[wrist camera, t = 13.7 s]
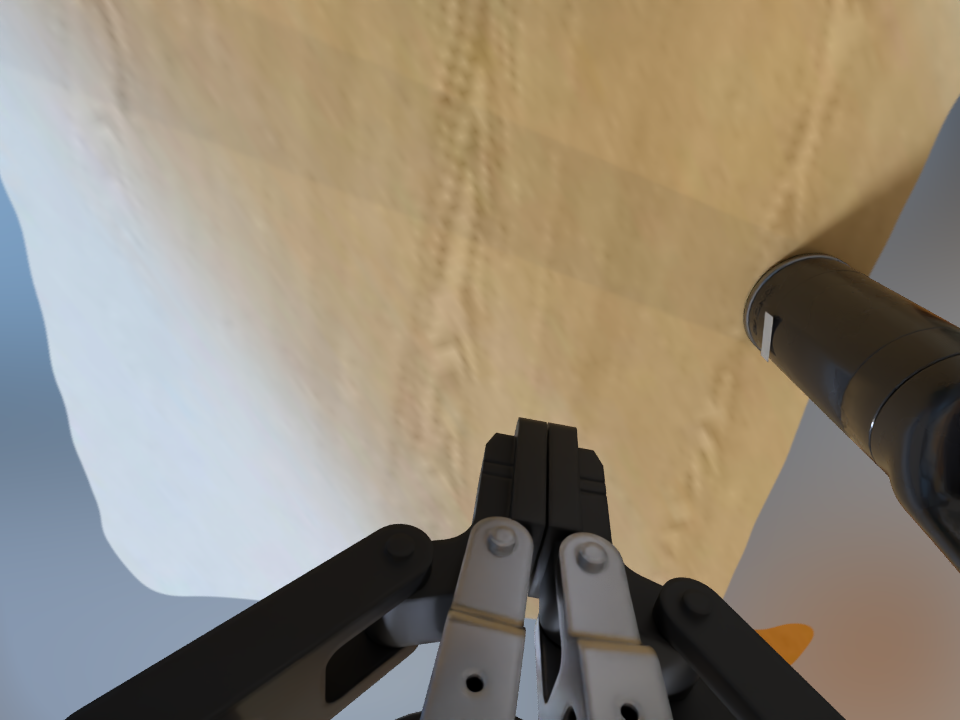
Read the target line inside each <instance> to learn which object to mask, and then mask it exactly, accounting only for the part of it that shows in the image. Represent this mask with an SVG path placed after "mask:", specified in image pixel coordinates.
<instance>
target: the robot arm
mask: <svg viewBox="0 0 960 720" xmlns="http://www.w3.org/2000/svg"><path fill="white" fill-rule="evenodd" d="M744 327H745V331H746V334H747V336H748V338H749V339H750V341H751V342H752V343H753V344H754V345H755V346H756V347H757V348H758V349H759V350H760V351H761V356H762V357H763V358H764V359H765V360H766V361H767V362H768V359H769V358H770V359H771V360H772V361H773V362H774V364H775V365H776V366H777V367H778V368H779V369H780V370H781V371H782V372H783V373H784V374H785V375H786V376H787V377H788V378H789V379H790V380H791V381H793V382H794V383H795V384H796V385H797V386H798V387H799V388H800V389H801V390H802V391H803V392H804V393H805V394H806V395H807V396H808V397H809V398H810V399H811V400H812V401H813V402H814V403H815V404H816V405H817V406H818V407H819V408H820V409H821V410H822V411H823V412H824V413H825V414H826V415H827V416H828V417H829V418H830V419H831V420H832V421H833V422H834V423H835V424H836V425H837V426H838V427H839V428H840V429H841V430H842V431H843V432H844V433H845V434H846V435H847V436H848V437H849V438H850V439H851V440H852V441H853V442H854V443H855V444H856V445H857V446H858V447H860V449H861V450H862V451H863V452H864V453H866V454H867V456H869V457H870V458H871V459H872V460H873V461H874V462H875V463H876V464H877V465H878V466H879V467H880V468H881V469H882V470H883V471H884V472H885V473H886V474H887V475H888V477H889V479H890V482H891V486H892V489H893V491H894V493H895V495H896V498H897V499H898V501H899V503H900V504H901V505H902V507H903V508H904V509H905V511H906V512H907V513H908V514H909V515H910V516H911V517H912V518H913V520H914V521H915V522H916V523H917V524H918V525H919V526H920V528H921V529H922V530H923V531H924V532H925V533H926V534H927V535H928V537H929V538H930V539H931V540H932V541H933V542H934V544H935V545H936V546H937V547H938V548H939V549H940V551H941V552H942V553H943V554H944V555H945V556H946V558H947V559H948V560H949V561H950V562H951V563H952V564H953V566H954V567H955V568H956V569H957V570H958V571H959V573H960V328H959V327H957V326H955V325H953V324H951V323H950V322H948V321H946V320H944V319H943V318H941V317H939V316H937V315H935V314H933V313H932V312H930V311H928V310H926V309H925V308H923V307H921V306H919V305H917V304H916V303H914V302H912V301H910V300H908V299H907V298H905V297H903V296H901V295H899V294H898V293H896V292H894V291H892V290H890V289H889V288H887V287H885V286H883V285H881V284H880V283H878V282H876V281H874V280H872V279H870V278H869V277H867V276H866V275H864V274H862V273H860V272H858V271H857V270H855V269H853V268H851V267H850V266H849V265H847V264H846V263H845V262H843V261H841V260H839V259H838V258H835V257H833V256H830V255H826V254H819V253H811V254H804V255H799V256H796V257H793V258H790V259H788V260H785V261H783V262H782V263H780V264H778V265H776V266H775V267H774V268H772V269H771V270H770V271H768V272H767V273H766V274H765V275H764V276H763V277H762V278H761V279H760V280H759V281H758V283H757V284H756V285H755V287H754V288H753V290H752V291H751V293H750V295H749V297H748V300H747V302H746V305H745V309H744ZM604 483H605V478H604V469H603V465H602V463H601V461H600V460H599V458H598V457H597V455H596V454H595V452H594V451H593V450H588V449H582V448H578V440H577V429H576V427H571V426H565V425H560V424H554V423H549V422H548V424H547V423H546V422H543V421H537V420H532V419H526V418H521V417H519V418H518V422H517V426H516V430H515V435H514V436H511V435H505V434H500V433H496V434H495V435H494V436H493V437H492V438H491V439H490V440H489V442H488V443H487V444H486V447H485V453H484V458H483V463H482V468H481V473H480V478H479V483H478V489H477V495H476V502H475V508H474V514H473V521H472V525H471V526H470V528H469V529H468V530H467V531H465V532H464V533H463V534H461V535H459V536H457V537H454V538H451V539H445V540H435V541H431V540H430V538H429V537H428V536H427V534H426V533H424V532H423V531H422V530H420V529H418V528H416V527H414V526H411V525H406V524H393V525H388V526H385V527H383V528H381V529H379V530H377V531H376V532H374V533H372V534H371V535H369V536H367V537H366V538H364V539H362V540H361V541H359V542H357V543H356V544H354V545H352V546H351V547H349V548H347V549H346V550H344V551H342V552H341V553H339V554H337V555H336V556H334V557H332V558H331V559H329V560H327V561H326V562H324V563H322V564H321V565H319V566H317V567H316V568H314V569H312V570H311V571H309V572H307V573H306V574H304V575H302V576H301V577H299V578H297V579H296V580H294V581H292V582H291V583H289V584H287V585H286V586H284V587H282V588H281V589H279V590H277V591H276V592H274V593H272V594H271V595H269V596H267V597H266V598H264V599H262V600H261V601H259V602H257V603H256V604H254V605H252V606H251V607H249V608H247V609H246V610H244V611H242V612H241V613H239V614H237V615H236V616H234V617H232V618H231V619H229V620H227V621H226V622H224V623H222V624H221V625H219V626H217V627H216V628H214V629H213V630H211V631H209V632H207V633H206V634H204V635H202V636H201V637H199V638H197V639H196V640H194V641H192V642H191V643H189V644H187V645H186V646H184V647H182V648H181V649H179V650H177V651H176V652H174V653H172V654H171V655H169V656H167V657H166V658H164V659H162V660H161V661H159V662H157V663H156V664H154V665H152V666H151V667H149V668H147V669H146V670H144V671H142V672H141V673H139V674H137V675H136V676H134V677H132V678H131V679H129V680H127V681H126V682H124V683H122V684H121V685H119V686H117V687H116V688H114V689H112V690H111V691H109V692H107V693H106V694H104V695H102V696H101V697H99V698H97V699H96V700H94V701H92V702H91V703H89V704H87V705H86V706H84V707H83V708H81V709H79V710H77V711H76V712H74V713H73V714H71V715H70V716H69V717H67V718H66V719H65V720H330V719H332V718H333V717H334V716H335V715H337V714H338V713H339V712H340V711H342V710H343V709H344V708H345V707H346V706H348V705H349V704H350V703H351V702H353V701H354V700H355V699H356V698H358V697H359V696H360V695H361V694H362V693H363V692H365V691H366V690H367V689H369V688H370V687H371V686H372V685H374V684H375V683H376V682H377V681H378V680H380V679H381V678H382V677H383V676H385V675H386V674H387V673H388V672H389V671H390V670H392V669H393V668H394V667H395V666H397V665H398V664H399V663H401V661H403V660H404V659H405V658H407V657H408V656H409V655H410V654H411V653H412V652H414V650H415V649H416V648H417V647H418V645H419V644H426V643H433V642H440V645H439V649H438V652H437V656H436V660H435V664H434V668H433V671H432V675H431V680H430V683H429V687H428V690H427V694H426V698H425V702H424V706H423V710H422V711H420V712H416V713H412V714H408V715H406V716H403V717H400V718H398V719H396V720H522V719H520V718H518V717H516V716H515V714H516V706H517V699H518V691H519V683H520V675H521V667H522V659H523V651H524V642H525V633H526V630H525V627H523V626H524V617H525V609H526V602H527V594H528V597H534V598H539V614H538V617H537V621H536V624H535V629H534V635H535V653H536V673H537V692H538V720H846V719H845V718H844V717H842V716H841V715H840V714H839V713H838V712H837V711H836V710H835V709H834V708H833V707H832V706H831V705H830V704H829V703H828V702H827V701H826V700H825V699H824V698H823V697H822V696H821V695H820V694H819V693H818V692H817V691H816V690H815V689H814V688H813V687H812V686H811V685H810V684H809V683H807V681H806V680H804V678H802V676H801V675H799V673H798V672H796V671H795V670H794V669H793V668H792V667H791V666H790V665H789V664H788V663H787V662H786V661H785V660H784V659H783V658H782V657H781V656H780V655H779V654H778V653H777V652H776V651H775V650H774V649H773V648H772V647H771V646H770V645H769V644H768V643H767V642H766V641H765V640H764V639H763V638H762V637H761V636H760V635H759V634H758V633H757V632H756V631H755V630H754V629H752V628H751V627H750V626H749V625H748V624H747V623H746V622H745V621H744V620H743V619H742V618H741V617H740V616H739V615H738V614H737V613H736V612H735V611H734V610H733V609H732V608H731V607H730V606H729V605H728V604H727V603H726V602H725V601H724V600H723V599H722V598H721V597H720V596H719V595H718V594H717V593H716V592H714V591H713V590H712V589H711V588H709V587H708V586H707V585H705V584H703V583H701V582H699V581H696V580H694V579H690V578H684V577H682V578H673V579H671V580H669V581H667V582H666V583H665V584H664V585H663V586H662V585H659V584H657V583H655V582H653V581H651V580H649V579H647V578H644V577H642V576H640V575H639V574H637V573H635V572H634V571H632V570H631V569H629V568H628V567H627V566H626V565H625V564H624V563H623V560H622V557H621V555H620V553H619V551H618V550H617V549H616V548H615V547H614V546H613V545H612V539H611V530H610V521H609V513H608V504H607V496H606V486H605V484H604Z"/></svg>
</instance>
